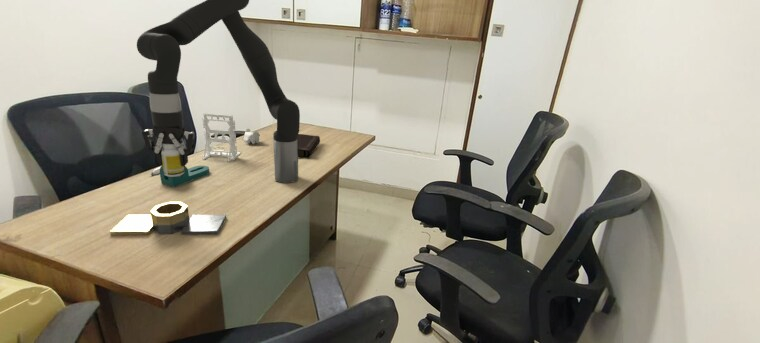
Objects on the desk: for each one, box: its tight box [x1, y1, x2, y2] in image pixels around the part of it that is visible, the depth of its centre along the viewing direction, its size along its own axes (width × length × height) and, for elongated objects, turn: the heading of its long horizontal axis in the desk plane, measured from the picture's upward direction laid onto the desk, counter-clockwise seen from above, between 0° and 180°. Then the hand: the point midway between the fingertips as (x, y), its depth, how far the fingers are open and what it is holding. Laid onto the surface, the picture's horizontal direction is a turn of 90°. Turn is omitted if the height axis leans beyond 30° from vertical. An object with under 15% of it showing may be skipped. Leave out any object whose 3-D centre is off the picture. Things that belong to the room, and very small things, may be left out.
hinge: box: [109, 201, 227, 236], centre depth 108 cm, size 29×10×6 cm, turn 98°
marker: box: [149, 166, 161, 176], centre depth 148 cm, size 3×2×16 cm
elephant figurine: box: [241, 128, 261, 145], centre depth 187 cm, size 8×10×7 cm
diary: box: [297, 133, 321, 159], centre depth 184 cm, size 19×25×5 cm
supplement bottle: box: [161, 143, 184, 177], centre depth 106 cm, size 5×5×10 cm
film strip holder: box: [201, 113, 242, 163], centre depth 164 cm, size 14×14×20 cm
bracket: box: [159, 165, 210, 188], centre depth 141 cm, size 18×7×8 cm, turn 155°
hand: (173, 164), depth 107 cm, fingers closed on supplement bottle, 5 cm apart
